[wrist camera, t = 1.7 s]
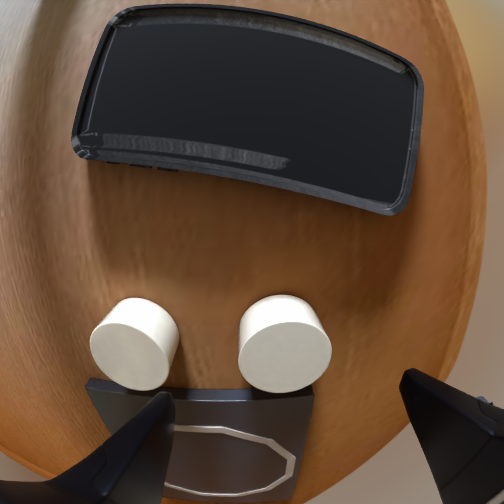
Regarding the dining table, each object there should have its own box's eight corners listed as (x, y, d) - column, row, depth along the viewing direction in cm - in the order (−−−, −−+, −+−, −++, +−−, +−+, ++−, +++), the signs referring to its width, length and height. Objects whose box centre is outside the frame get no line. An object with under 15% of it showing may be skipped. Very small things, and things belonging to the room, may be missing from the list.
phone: (114, 9, 7) (424, 69, 8) (122, 18, 8) (413, 75, 10) (66, 160, 9) (403, 224, 10) (80, 161, 10) (391, 219, 12)
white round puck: (321, 291, 13) (337, 316, 10) (314, 358, 14) (326, 388, 11) (236, 296, 12) (235, 323, 10) (240, 363, 14) (240, 395, 11)
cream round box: (173, 297, 12) (159, 323, 10) (185, 363, 13) (176, 394, 11) (102, 296, 12) (79, 319, 10) (119, 358, 13) (104, 386, 11)
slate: (311, 383, 14) (315, 396, 13) (290, 492, 19) (291, 500, 18) (90, 377, 14) (83, 387, 13) (158, 489, 19) (156, 496, 18)
